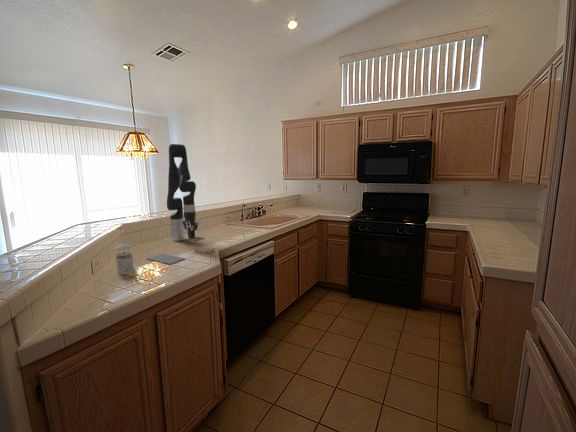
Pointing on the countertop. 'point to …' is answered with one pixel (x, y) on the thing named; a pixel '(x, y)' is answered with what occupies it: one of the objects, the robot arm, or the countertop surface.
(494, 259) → the countertop surface
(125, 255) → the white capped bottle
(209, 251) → the tile
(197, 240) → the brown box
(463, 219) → the countertop surface
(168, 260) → the mat
